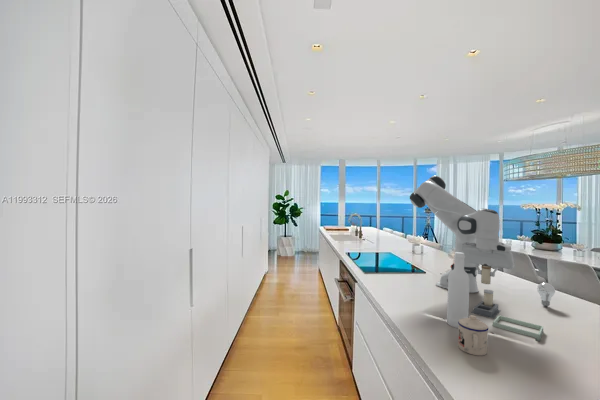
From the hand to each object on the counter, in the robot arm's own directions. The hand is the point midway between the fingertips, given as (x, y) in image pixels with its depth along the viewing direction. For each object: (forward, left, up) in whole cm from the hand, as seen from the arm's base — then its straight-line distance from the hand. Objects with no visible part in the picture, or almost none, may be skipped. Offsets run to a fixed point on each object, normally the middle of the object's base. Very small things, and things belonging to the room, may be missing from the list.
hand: (486, 275), depth 134 cm
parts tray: (+13, -8, -18) cm, 24 cm away
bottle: (-5, -21, -19) cm, 28 cm away
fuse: (0, +7, -17) cm, 19 cm away
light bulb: (+18, +38, -19) cm, 46 cm away
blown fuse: (0, 0, -4) cm, 4 cm away
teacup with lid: (+6, -41, -19) cm, 45 cm away
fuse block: (0, +3, -18) cm, 19 cm away
